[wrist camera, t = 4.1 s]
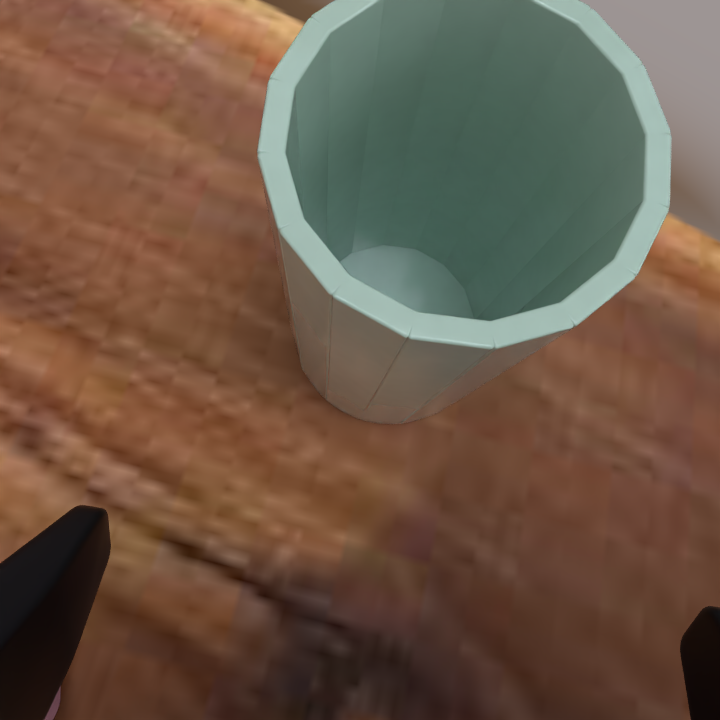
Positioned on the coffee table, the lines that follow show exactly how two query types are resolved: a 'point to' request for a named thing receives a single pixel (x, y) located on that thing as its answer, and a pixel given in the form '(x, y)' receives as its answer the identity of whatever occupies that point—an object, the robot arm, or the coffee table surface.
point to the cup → (454, 190)
